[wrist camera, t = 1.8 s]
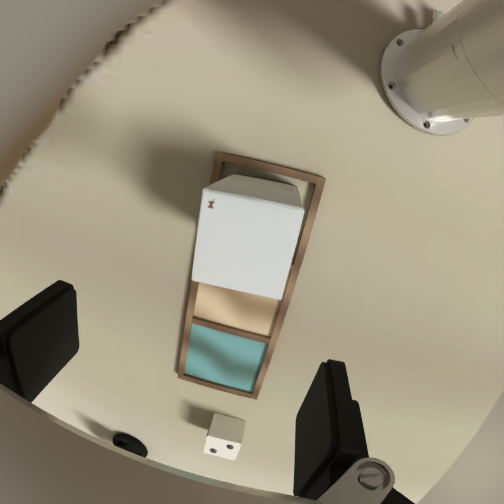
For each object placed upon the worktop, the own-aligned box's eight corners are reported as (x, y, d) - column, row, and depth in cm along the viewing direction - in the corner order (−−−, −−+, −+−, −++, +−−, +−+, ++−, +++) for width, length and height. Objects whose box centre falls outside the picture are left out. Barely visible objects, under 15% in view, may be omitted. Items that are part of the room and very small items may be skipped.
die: (213, 412, 45) (206, 435, 40) (246, 420, 45) (241, 444, 40) (209, 430, 47) (202, 453, 42) (239, 437, 47) (234, 461, 42)
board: (218, 151, 33) (216, 151, 32) (324, 178, 33) (325, 178, 32) (179, 374, 43) (177, 377, 42) (257, 395, 43) (256, 399, 42)
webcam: (107, 435, 52) (86, 469, 43) (127, 429, 50) (106, 466, 40) (134, 458, 53) (117, 492, 44) (156, 453, 51) (139, 491, 42)
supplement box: (221, 237, 36) (186, 281, 24) (232, 172, 34) (200, 184, 22) (285, 251, 36) (281, 303, 24) (300, 186, 33) (306, 207, 21)
